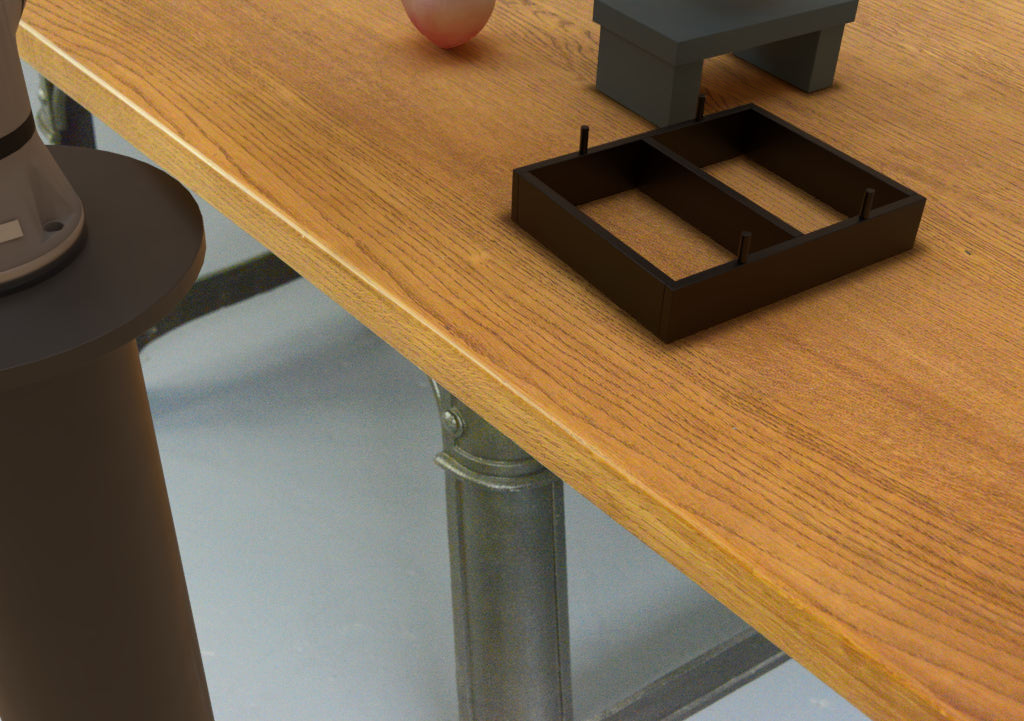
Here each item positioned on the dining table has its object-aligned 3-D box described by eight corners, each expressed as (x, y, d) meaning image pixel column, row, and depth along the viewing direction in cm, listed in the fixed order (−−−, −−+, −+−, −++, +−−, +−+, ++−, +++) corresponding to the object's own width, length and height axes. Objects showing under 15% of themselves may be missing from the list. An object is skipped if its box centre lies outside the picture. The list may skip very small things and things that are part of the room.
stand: (587, 87, 101) (593, -3, 96) (756, 45, 110) (770, -39, 105) (666, 136, 94) (678, 42, 89) (840, 87, 103) (859, -2, 98)
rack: (510, 218, 82) (513, 142, 79) (743, 148, 92) (755, 77, 89) (666, 344, 71) (677, 261, 67) (913, 248, 81) (935, 171, 77)
